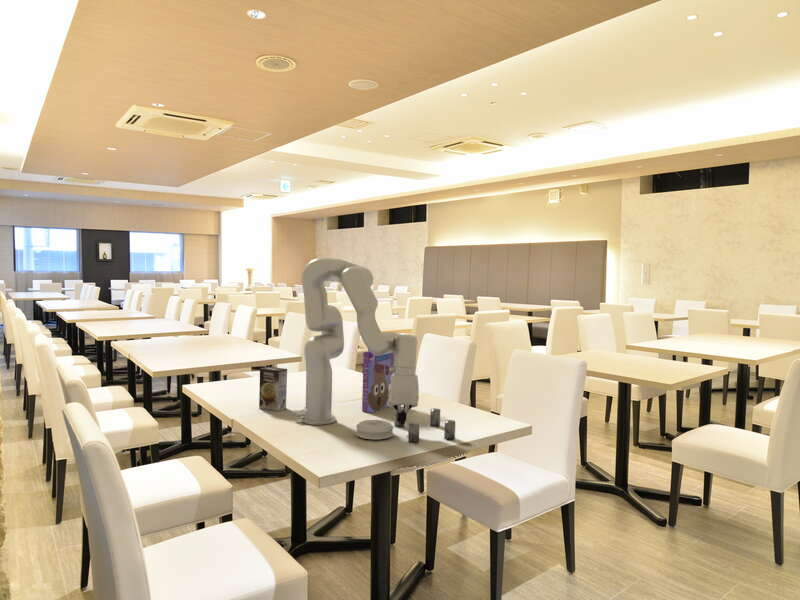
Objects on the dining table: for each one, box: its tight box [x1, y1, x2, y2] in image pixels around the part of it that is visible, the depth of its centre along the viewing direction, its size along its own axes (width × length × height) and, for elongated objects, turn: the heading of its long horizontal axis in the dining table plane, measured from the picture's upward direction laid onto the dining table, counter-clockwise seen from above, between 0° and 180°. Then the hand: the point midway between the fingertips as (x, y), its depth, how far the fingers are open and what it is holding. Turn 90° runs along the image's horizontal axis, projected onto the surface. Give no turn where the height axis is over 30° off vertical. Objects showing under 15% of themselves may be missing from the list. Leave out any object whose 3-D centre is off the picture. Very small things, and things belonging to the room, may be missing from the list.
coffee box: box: [258, 366, 288, 412], centre depth 220 cm, size 9×6×16 cm
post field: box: [394, 407, 456, 444], centre depth 192 cm, size 17×23×6 cm
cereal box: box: [361, 350, 395, 414], centre depth 225 cm, size 17×5×24 cm, turn 152°
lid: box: [355, 419, 394, 440], centre depth 187 cm, size 13×13×5 cm
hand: (401, 423), depth 191 cm, fingers closed
